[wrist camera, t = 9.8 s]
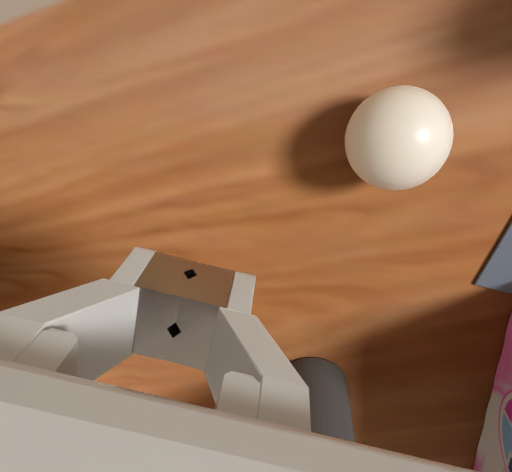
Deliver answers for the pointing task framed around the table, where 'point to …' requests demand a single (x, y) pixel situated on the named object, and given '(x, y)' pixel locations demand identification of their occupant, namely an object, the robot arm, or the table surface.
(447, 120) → the cue ball
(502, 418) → the gum box
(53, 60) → the table surface
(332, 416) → the bottle
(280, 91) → the table surface
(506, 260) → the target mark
